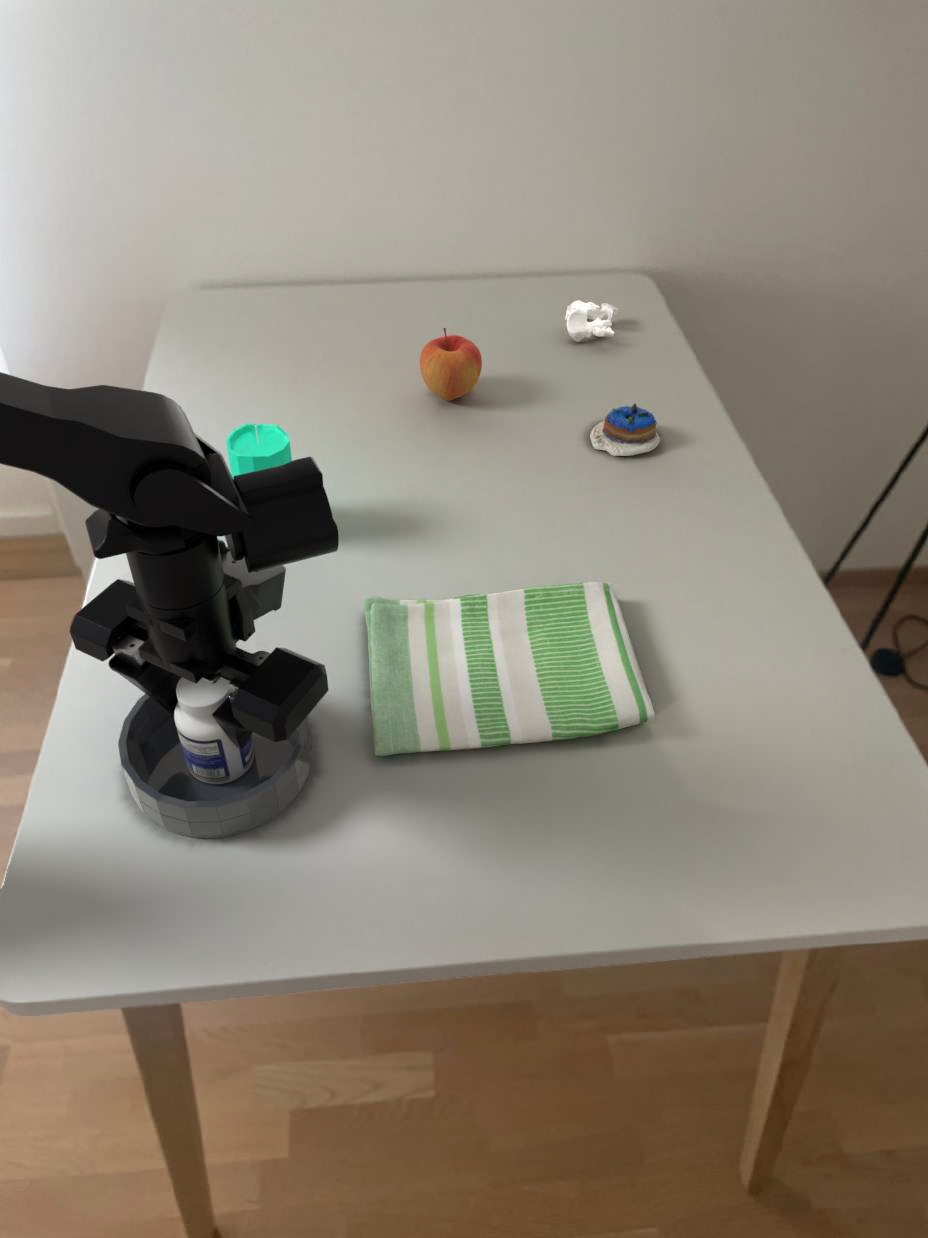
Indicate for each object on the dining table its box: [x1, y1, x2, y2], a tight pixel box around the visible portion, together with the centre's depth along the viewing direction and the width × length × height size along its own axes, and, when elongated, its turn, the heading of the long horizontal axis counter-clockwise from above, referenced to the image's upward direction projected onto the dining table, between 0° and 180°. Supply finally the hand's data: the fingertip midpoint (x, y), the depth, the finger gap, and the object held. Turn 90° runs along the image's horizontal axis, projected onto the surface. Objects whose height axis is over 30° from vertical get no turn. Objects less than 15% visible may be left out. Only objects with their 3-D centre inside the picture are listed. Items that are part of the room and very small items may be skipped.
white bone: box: [564, 300, 620, 343], centre depth 129 cm, size 8×4×7 cm
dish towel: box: [363, 581, 656, 757], centre depth 85 cm, size 18×23×3 cm
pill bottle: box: [174, 677, 254, 784], centre depth 75 cm, size 5×5×9 cm
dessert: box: [589, 403, 661, 457], centre depth 112 cm, size 8×7×6 cm
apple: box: [419, 327, 483, 402], centre depth 115 cm, size 7×7×8 cm
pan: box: [117, 693, 313, 839], centre depth 77 cm, size 14×14×4 cm
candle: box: [225, 423, 293, 479], centre depth 95 cm, size 6×6×12 cm
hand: (214, 730), depth 75 cm, fingers closed on pill bottle, 5 cm apart
